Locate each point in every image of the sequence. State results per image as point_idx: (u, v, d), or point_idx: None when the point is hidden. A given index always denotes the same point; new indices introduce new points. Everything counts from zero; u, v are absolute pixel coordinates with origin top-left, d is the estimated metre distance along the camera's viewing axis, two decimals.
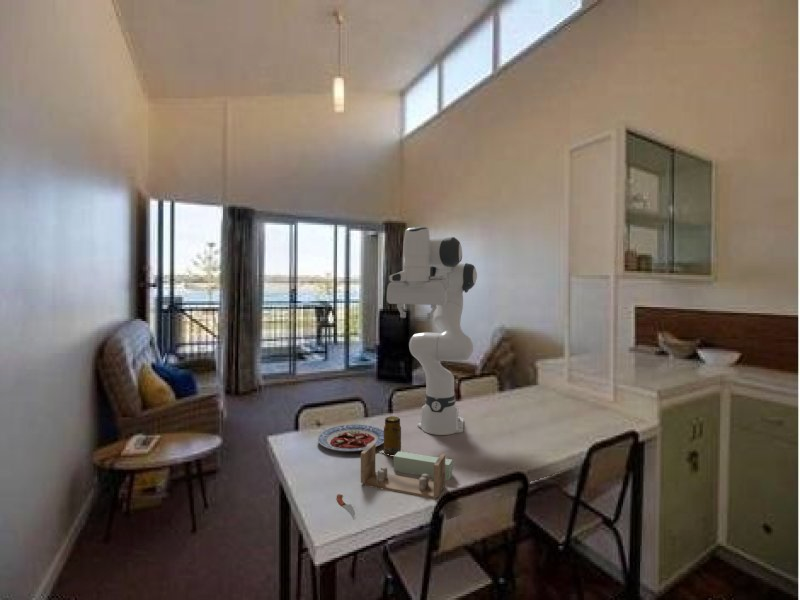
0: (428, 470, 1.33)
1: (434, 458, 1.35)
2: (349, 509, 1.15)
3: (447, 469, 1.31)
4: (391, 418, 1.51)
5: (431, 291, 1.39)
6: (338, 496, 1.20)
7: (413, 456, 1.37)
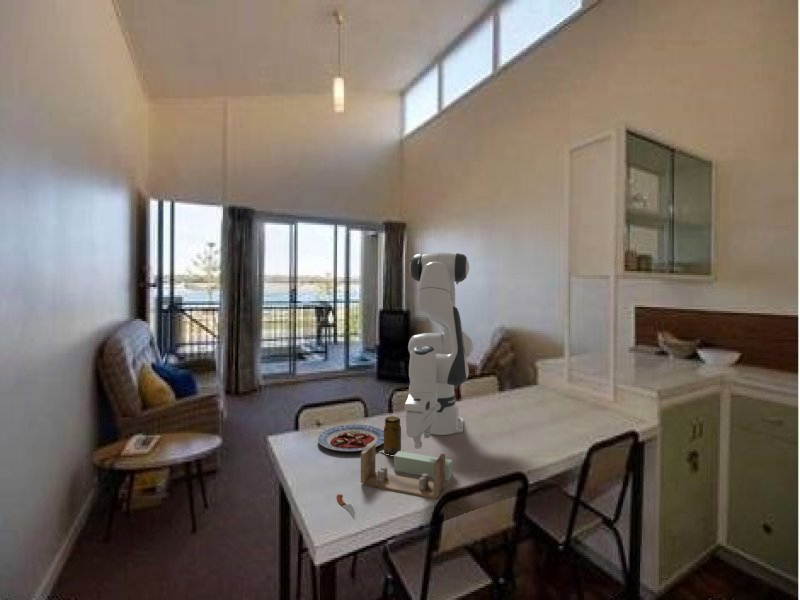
0: (428, 470, 1.33)
1: (434, 458, 1.35)
2: (349, 509, 1.15)
3: (447, 469, 1.31)
4: (391, 418, 1.51)
5: (432, 409, 1.39)
6: (338, 496, 1.20)
7: (413, 456, 1.37)
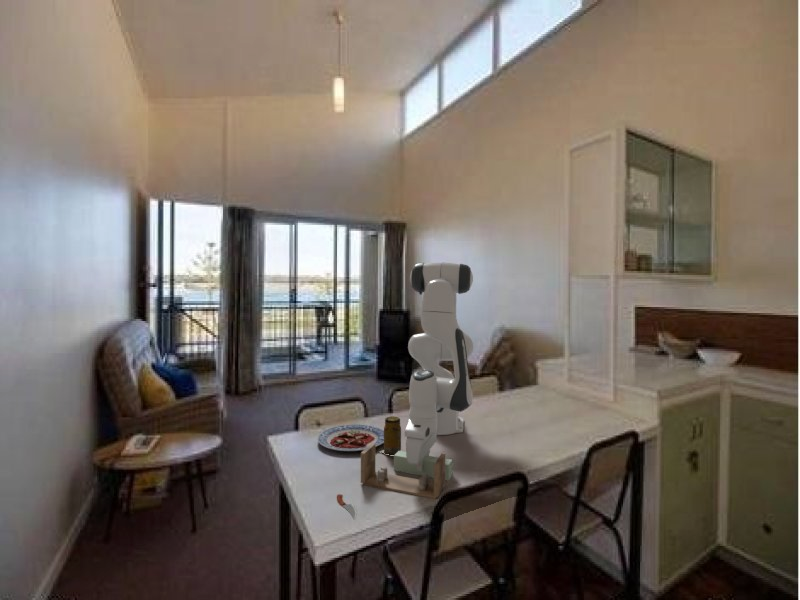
0: (428, 470, 1.33)
1: (434, 458, 1.35)
2: (349, 509, 1.15)
3: (447, 469, 1.31)
4: (391, 418, 1.51)
5: (432, 433, 1.40)
6: (338, 496, 1.21)
7: None
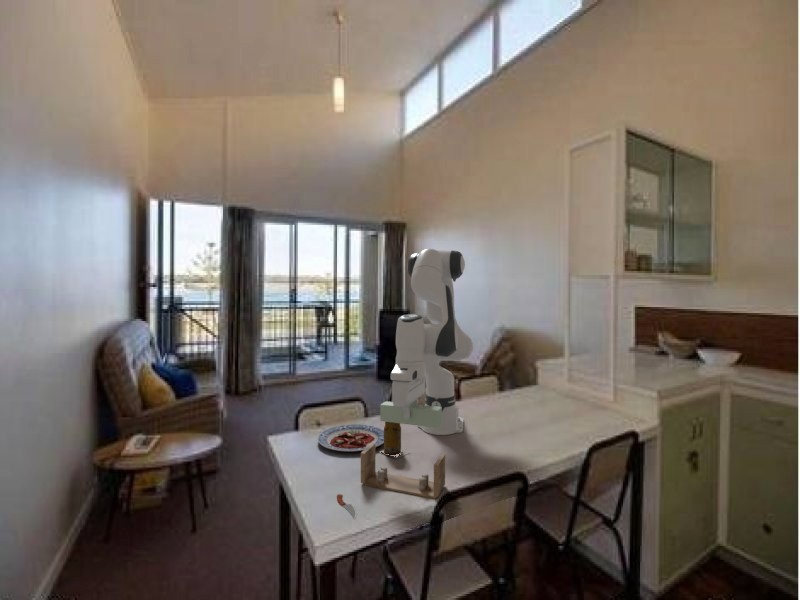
0: (416, 418, 1.26)
1: (423, 406, 1.28)
2: (350, 508, 1.15)
3: (436, 415, 1.24)
4: None
5: (420, 382, 1.33)
6: (338, 496, 1.21)
7: None
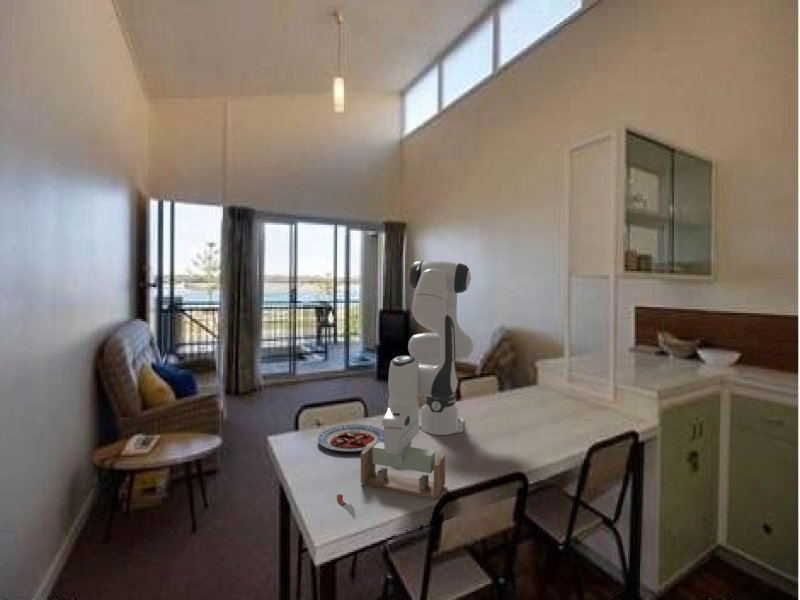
0: (409, 462, 1.24)
1: (416, 449, 1.26)
2: (350, 509, 1.15)
3: (429, 460, 1.22)
4: None
5: (414, 423, 1.31)
6: (338, 496, 1.21)
7: None
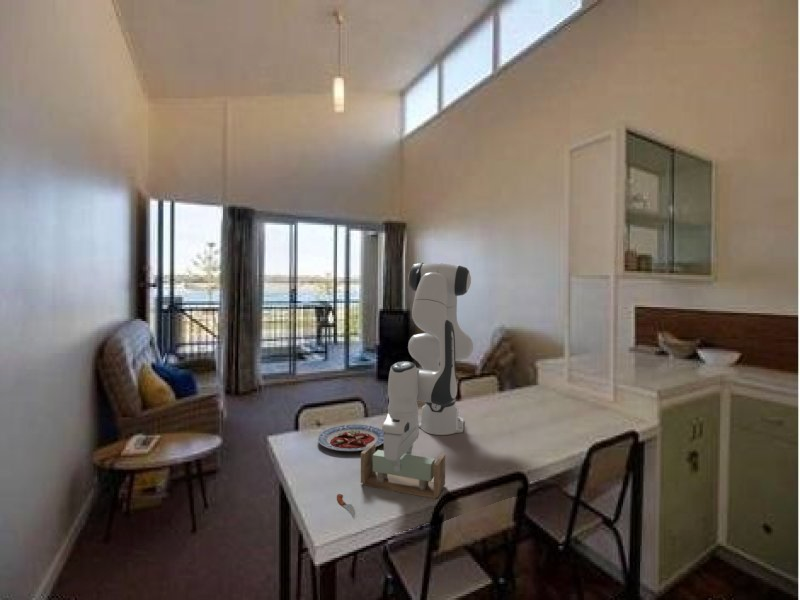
0: (408, 470, 1.25)
1: (415, 457, 1.27)
2: (350, 508, 1.15)
3: (429, 469, 1.22)
4: None
5: (413, 428, 1.31)
6: (338, 496, 1.21)
7: None
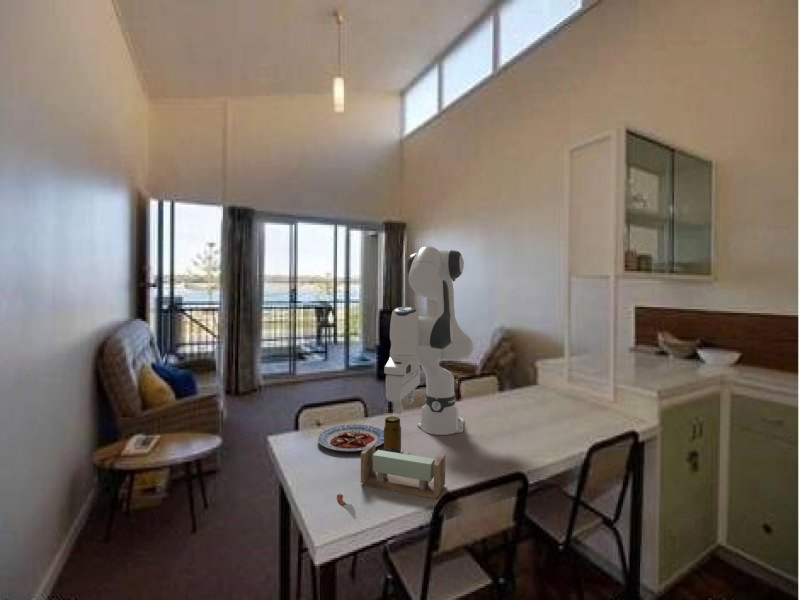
0: (408, 470, 1.25)
1: (415, 457, 1.27)
2: (350, 508, 1.15)
3: (429, 469, 1.22)
4: (391, 418, 1.51)
5: (415, 374, 1.33)
6: (338, 496, 1.21)
7: (393, 455, 1.28)
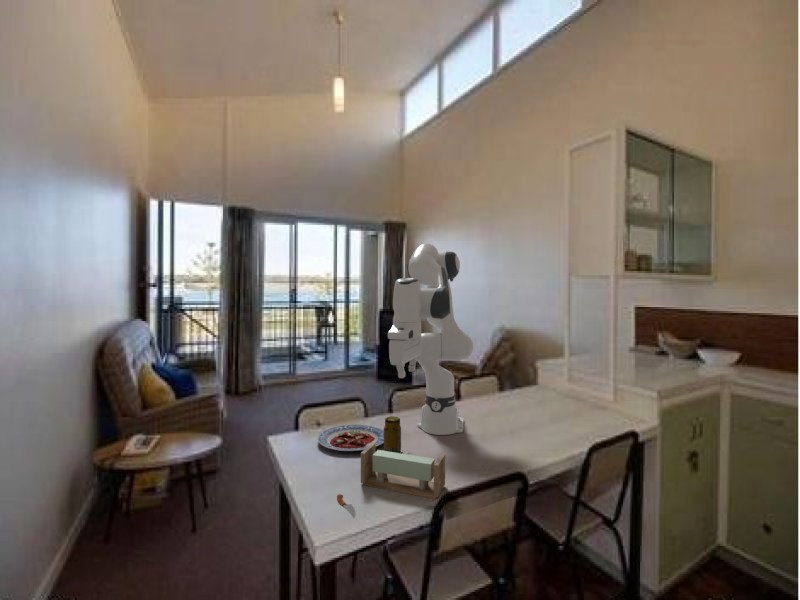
0: (408, 470, 1.25)
1: (415, 457, 1.27)
2: (350, 509, 1.15)
3: (429, 469, 1.22)
4: (391, 418, 1.51)
5: (417, 343, 1.39)
6: (338, 496, 1.21)
7: (393, 455, 1.28)
